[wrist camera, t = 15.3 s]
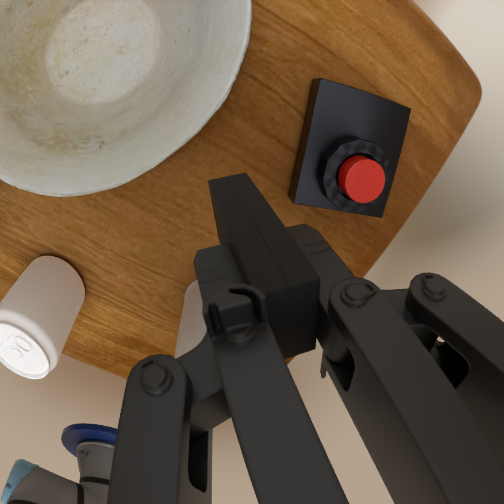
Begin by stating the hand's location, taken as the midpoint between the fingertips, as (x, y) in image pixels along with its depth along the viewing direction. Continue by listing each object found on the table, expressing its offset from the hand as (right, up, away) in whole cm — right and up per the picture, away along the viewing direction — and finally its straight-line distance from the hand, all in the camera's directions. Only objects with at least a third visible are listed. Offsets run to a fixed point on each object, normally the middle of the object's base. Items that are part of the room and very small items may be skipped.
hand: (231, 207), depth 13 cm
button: (+10, +5, +15) cm, 19 cm away
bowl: (-12, +17, +9) cm, 23 cm away
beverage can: (-22, -5, +20) cm, 30 cm away
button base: (+10, +8, +17) cm, 22 cm away
